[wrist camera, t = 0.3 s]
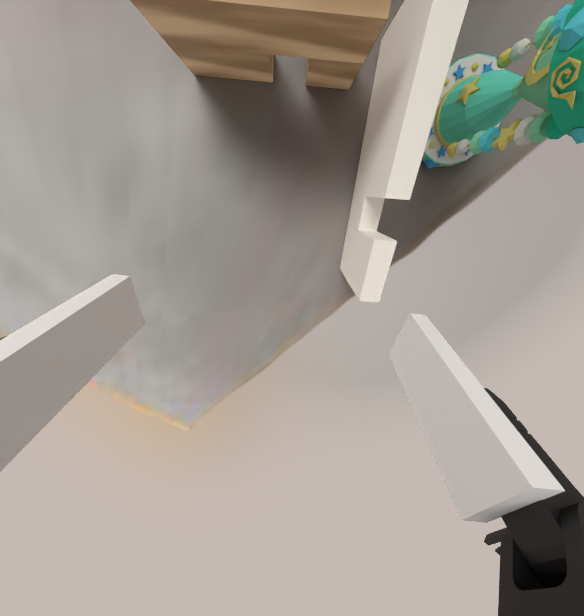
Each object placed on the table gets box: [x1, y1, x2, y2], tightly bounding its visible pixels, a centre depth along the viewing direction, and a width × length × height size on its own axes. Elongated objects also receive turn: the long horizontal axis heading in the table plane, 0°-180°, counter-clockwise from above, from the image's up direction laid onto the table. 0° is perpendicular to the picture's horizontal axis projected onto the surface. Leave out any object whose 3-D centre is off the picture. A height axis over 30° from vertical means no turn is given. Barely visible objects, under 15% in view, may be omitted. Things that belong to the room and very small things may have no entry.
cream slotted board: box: [340, 0, 469, 302], centre depth 25 cm, size 26×2×12 cm, turn 176°
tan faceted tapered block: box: [130, 0, 391, 90], centre depth 19 cm, size 2×18×12 cm, turn 86°
